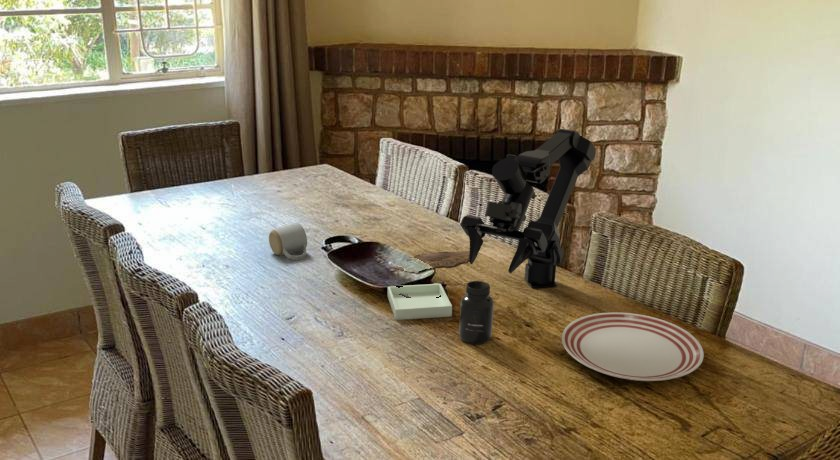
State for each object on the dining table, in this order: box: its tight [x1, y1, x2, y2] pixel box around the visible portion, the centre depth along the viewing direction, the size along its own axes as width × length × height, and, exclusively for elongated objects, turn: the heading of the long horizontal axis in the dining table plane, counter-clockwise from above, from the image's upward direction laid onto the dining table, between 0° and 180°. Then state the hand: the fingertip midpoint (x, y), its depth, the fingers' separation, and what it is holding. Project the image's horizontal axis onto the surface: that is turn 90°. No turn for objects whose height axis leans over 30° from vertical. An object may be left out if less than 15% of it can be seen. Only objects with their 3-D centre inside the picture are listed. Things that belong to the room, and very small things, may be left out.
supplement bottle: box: [458, 280, 495, 345], centre depth 159 cm, size 7×7×12 cm
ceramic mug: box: [268, 222, 308, 261], centre depth 204 cm, size 11×8×8 cm
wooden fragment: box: [392, 250, 470, 272], centre depth 202 cm, size 26×11×1 cm, turn 118°
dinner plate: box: [561, 312, 705, 382], centre depth 154 cm, size 28×27×3 cm
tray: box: [387, 283, 453, 321], centre depth 175 cm, size 13×13×2 cm
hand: (489, 267), depth 163 cm, fingers open, 9 cm apart
